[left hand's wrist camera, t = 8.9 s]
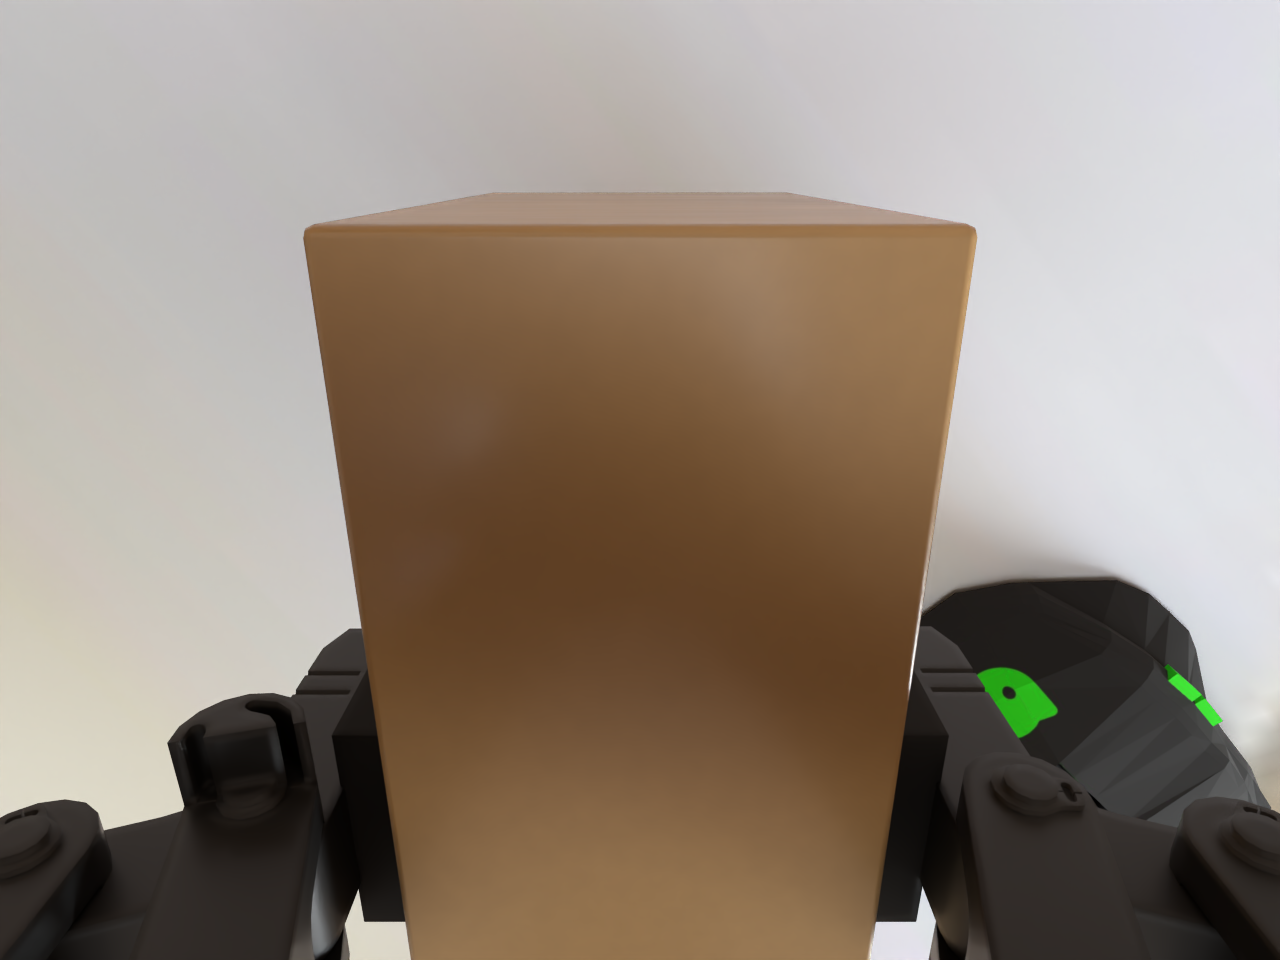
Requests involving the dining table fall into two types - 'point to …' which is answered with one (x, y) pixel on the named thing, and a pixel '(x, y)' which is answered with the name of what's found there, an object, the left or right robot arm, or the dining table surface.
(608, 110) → the dining table surface
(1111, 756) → the computer mouse
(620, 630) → the beam
